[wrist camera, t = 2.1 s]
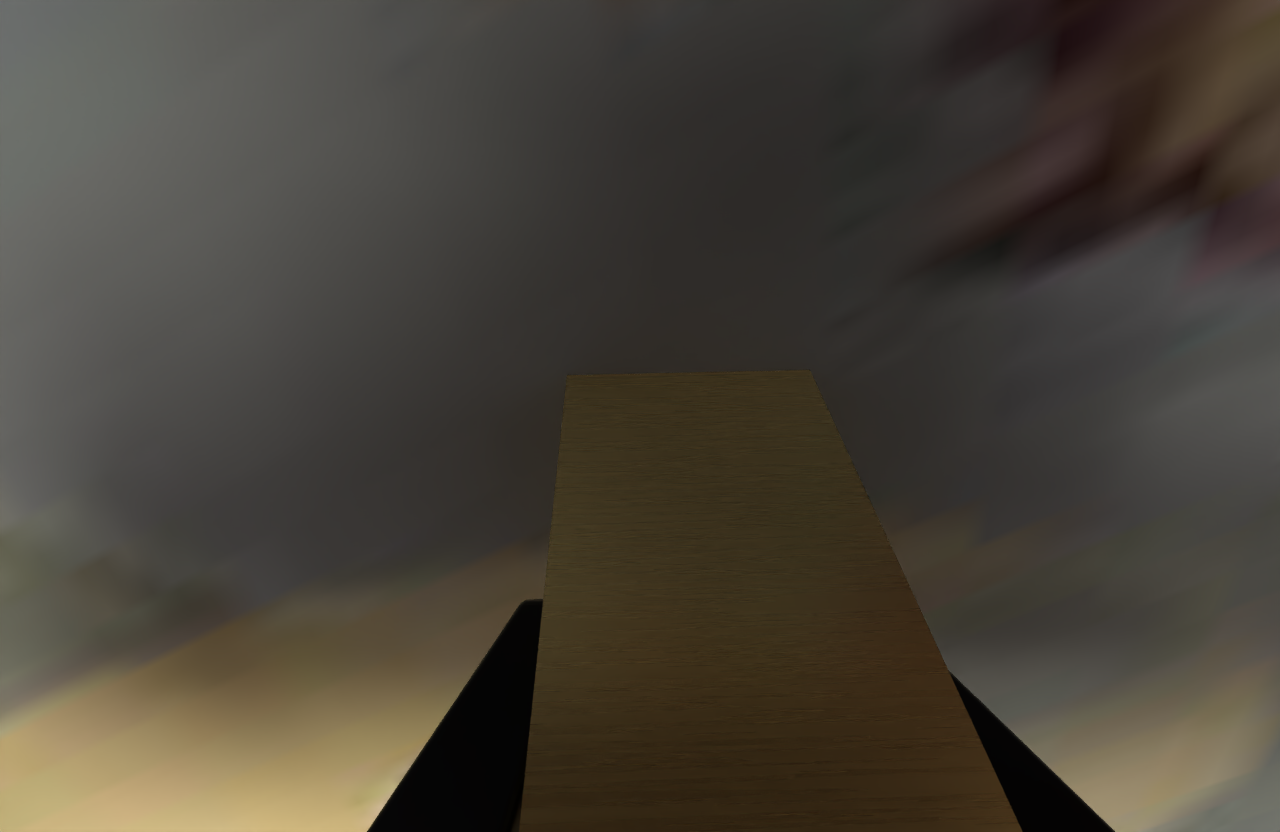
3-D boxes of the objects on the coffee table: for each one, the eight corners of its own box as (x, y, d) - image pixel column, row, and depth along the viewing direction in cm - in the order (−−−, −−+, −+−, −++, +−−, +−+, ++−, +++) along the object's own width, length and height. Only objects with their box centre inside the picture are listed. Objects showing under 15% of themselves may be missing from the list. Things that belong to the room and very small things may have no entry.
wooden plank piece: (768, 682, 10) (873, 1188, 6) (588, 688, 10) (573, 1203, 6) (808, 368, 8) (1043, 881, 4) (567, 374, 8) (510, 900, 3)
